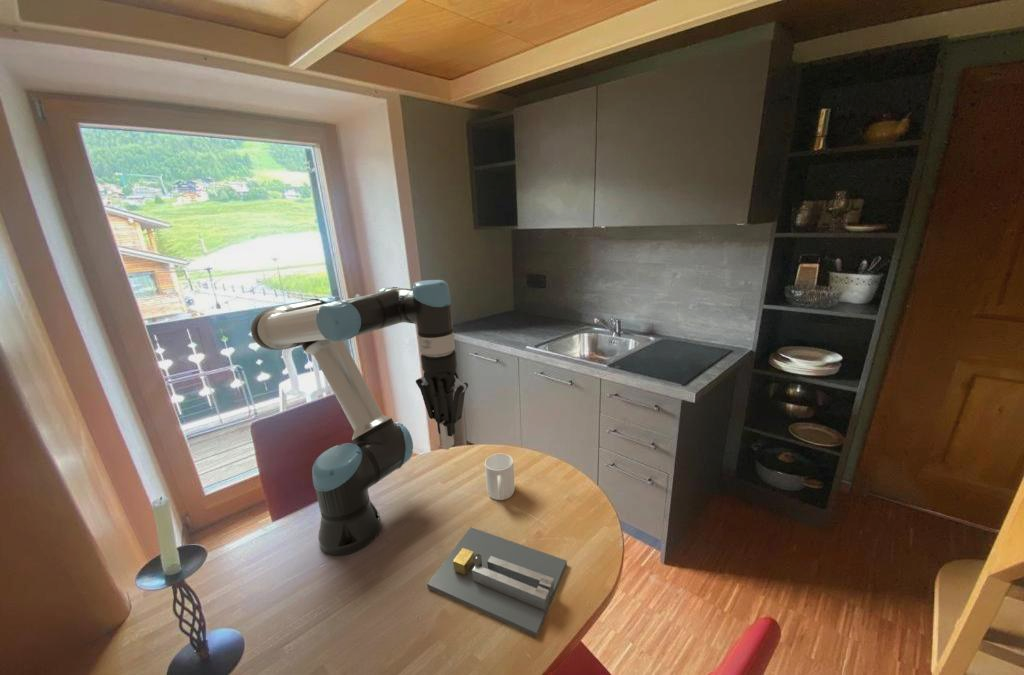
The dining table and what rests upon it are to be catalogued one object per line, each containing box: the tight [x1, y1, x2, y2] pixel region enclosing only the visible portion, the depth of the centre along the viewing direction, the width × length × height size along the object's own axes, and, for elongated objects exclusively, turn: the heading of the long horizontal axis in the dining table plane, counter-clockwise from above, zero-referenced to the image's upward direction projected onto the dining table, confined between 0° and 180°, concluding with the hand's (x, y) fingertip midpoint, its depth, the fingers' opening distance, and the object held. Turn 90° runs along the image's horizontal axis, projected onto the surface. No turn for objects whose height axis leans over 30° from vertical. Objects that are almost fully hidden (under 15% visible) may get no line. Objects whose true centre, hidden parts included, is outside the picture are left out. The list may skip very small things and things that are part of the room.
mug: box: [484, 452, 516, 501], centre depth 112 cm, size 12×8×10 cm
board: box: [426, 526, 568, 638], centre depth 88 cm, size 26×18×1 cm
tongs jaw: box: [487, 556, 554, 598], centre depth 84 cm, size 15×2×3 cm, turn 65°
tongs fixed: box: [472, 554, 549, 611], centre depth 83 cm, size 18×3×4 cm, turn 64°
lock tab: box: [453, 548, 474, 575], centre depth 89 cm, size 3×4×3 cm
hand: (448, 446), depth 92 cm, fingers closed
